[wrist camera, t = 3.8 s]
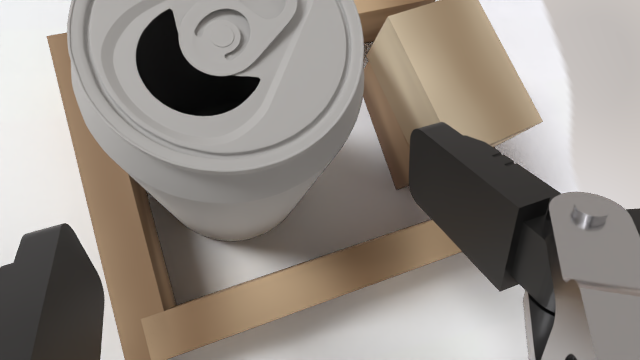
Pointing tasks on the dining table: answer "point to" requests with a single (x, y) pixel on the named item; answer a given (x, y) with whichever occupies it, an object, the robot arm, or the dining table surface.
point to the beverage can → (219, 100)
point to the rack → (237, 301)
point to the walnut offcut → (387, 129)
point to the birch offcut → (450, 73)
